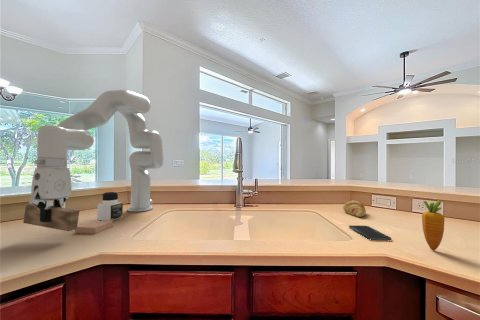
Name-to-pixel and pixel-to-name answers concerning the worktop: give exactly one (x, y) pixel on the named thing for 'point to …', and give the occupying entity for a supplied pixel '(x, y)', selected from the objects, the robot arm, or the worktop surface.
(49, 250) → the worktop surface
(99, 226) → the tile
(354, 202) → the croissant
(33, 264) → the worktop surface
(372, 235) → the phone
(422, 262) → the worktop surface
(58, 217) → the brown wooden block
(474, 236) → the worktop surface
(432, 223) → the carrot
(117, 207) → the medicine bottle
